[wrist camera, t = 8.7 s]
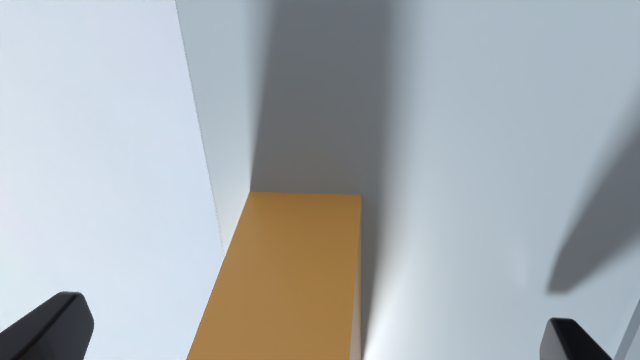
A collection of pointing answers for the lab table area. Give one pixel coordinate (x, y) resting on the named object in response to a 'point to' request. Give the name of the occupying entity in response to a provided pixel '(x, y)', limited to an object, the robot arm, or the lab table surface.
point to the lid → (418, 175)
